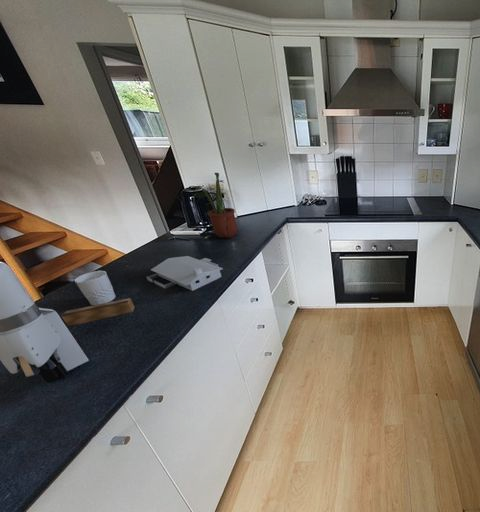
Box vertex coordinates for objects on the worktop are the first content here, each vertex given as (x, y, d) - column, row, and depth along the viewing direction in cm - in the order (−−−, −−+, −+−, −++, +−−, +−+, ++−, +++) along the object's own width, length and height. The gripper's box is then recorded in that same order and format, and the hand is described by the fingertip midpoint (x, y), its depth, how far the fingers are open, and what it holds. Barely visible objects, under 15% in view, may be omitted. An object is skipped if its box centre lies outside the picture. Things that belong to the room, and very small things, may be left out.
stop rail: (67, 326, 86) (60, 315, 84) (72, 321, 88) (64, 309, 86) (132, 312, 93) (127, 300, 90) (134, 307, 95) (129, 296, 93)
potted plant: (237, 230, 162) (222, 170, 146) (244, 238, 151) (229, 174, 136) (203, 237, 152) (183, 173, 136) (209, 246, 141) (188, 178, 126)
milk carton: (84, 356, 75) (43, 295, 70) (89, 361, 71) (46, 296, 66) (46, 374, 69) (-2, 310, 64) (49, 380, 65) (-2, 312, 60)
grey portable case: (238, 269, 120) (234, 254, 116) (182, 296, 101) (176, 279, 98) (203, 257, 130) (199, 243, 127) (146, 280, 111) (140, 264, 108)
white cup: (118, 291, 103) (106, 268, 99) (117, 301, 98) (105, 277, 94) (89, 299, 99) (76, 275, 94) (87, 309, 93) (72, 284, 89)
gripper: (8, 304, 62) (52, 362, 70) (-43, 347, 50) (17, 411, 58) (54, 295, 65) (91, 352, 73) (16, 333, 53) (65, 396, 61)
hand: (58, 378), depth 66 cm, fingers closed
